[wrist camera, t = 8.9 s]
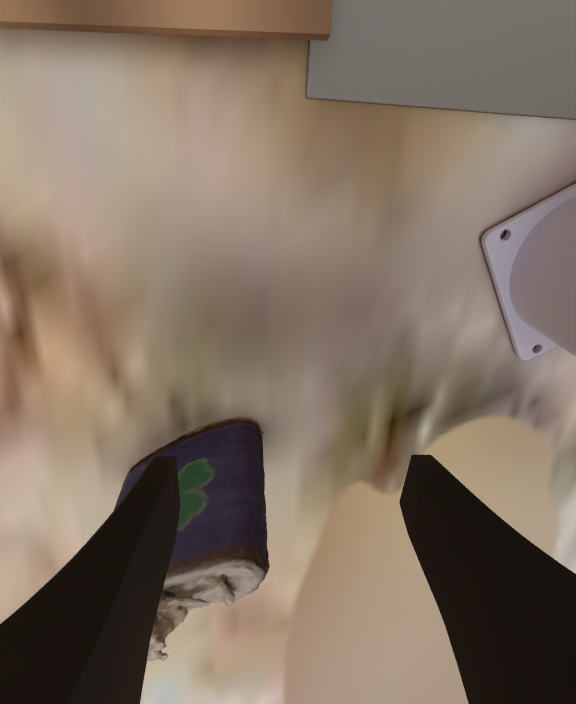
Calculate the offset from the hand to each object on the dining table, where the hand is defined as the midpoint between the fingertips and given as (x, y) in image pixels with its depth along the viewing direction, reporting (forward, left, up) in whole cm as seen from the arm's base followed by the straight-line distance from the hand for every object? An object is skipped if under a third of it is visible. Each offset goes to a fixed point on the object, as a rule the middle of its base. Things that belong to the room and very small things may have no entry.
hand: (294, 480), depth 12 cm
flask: (+8, +4, -10) cm, 14 cm away
